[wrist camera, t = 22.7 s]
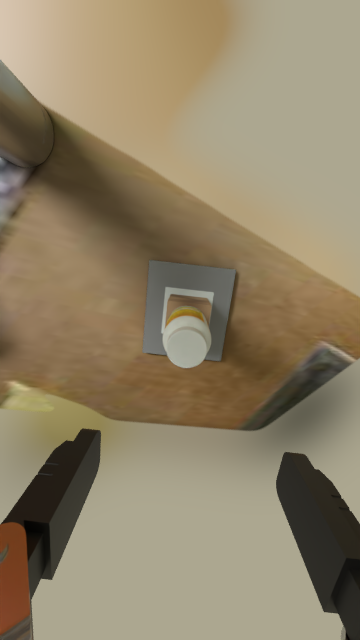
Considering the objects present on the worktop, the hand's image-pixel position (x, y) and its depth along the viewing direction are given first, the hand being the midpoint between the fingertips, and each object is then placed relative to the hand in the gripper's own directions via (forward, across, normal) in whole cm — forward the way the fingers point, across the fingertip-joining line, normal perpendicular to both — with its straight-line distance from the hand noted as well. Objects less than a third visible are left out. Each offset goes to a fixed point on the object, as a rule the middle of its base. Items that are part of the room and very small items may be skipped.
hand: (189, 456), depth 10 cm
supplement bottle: (+22, 0, 0) cm, 22 cm away
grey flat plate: (+30, 0, 0) cm, 30 cm away
